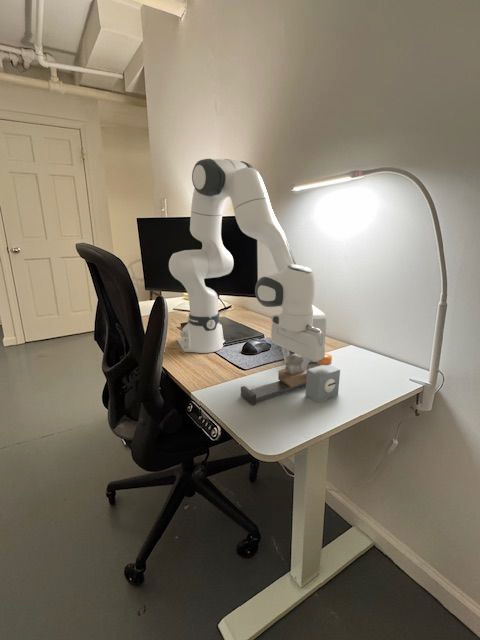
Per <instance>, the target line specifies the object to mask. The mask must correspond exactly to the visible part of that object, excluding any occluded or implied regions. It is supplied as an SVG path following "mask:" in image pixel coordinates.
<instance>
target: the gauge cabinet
mask: <svg viewBox="0 0 480 640" xmlns="http://www.w3.org/2000/svg"><path fill="white" fill-rule="evenodd" d="M307 369H308V370H307V377H306V387H305V396H306V397H308V398H309V399H311V400H312V401H315V402H316V403H321V402H324V401H326V400H328V399H332V398H334V397H336V396H339V390H340V389H339V388H340V377H341V375H340V374H341V369H340V368H338V367H336V366H333V365H332V364H330V365H317V366H314V367H312V368H307Z"/></svg>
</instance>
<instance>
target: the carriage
mask: <svg viewBox="0 0 480 640" xmlns="http://www.w3.org/2000/svg"><path fill="white" fill-rule="evenodd" d="M303 361H304V360H302V356H300V355H298V354H296V353H292V354H290V355H288V356H286V361H285V368H283V369H280V370H278V374H277V375H278V376H277V377H278V380H277V381H282V382H283V383H285V384H286V385H288V386H290V387H293V386H296V385H300V384H303V383H306V377H307V370H308V369H309V368H307V370H304V371H303V370H301V369H300V364H301V363H303Z"/></svg>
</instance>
